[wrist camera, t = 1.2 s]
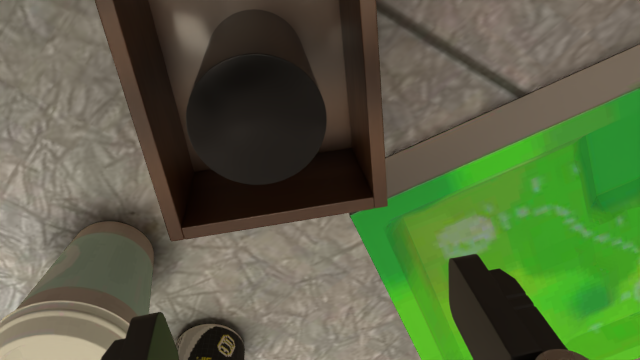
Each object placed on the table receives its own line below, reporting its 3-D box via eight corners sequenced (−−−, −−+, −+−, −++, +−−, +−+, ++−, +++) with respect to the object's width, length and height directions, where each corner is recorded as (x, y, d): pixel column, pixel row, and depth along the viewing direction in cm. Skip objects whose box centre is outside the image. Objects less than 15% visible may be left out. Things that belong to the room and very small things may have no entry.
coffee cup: (90, 182, 34) (17, 300, 24) (195, 243, 38) (172, 369, 27) (30, 264, 37) (-59, 403, 26) (134, 314, 40) (91, 455, 30)
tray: (437, 382, 48) (455, 428, 44) (338, 179, 37) (349, 215, 32) (688, 281, 46) (734, 320, 42) (669, 31, 34) (730, 47, 30)
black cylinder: (196, 16, 29) (169, 65, 20) (297, 2, 30) (318, 43, 20) (218, 111, 32) (203, 194, 23) (309, 98, 33) (333, 174, 23)
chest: (362, 151, 36) (388, 206, 29) (186, 178, 35) (170, 242, 28) (341, -96, 28) (370, -100, 21) (118, -67, 28) (74, -62, 21)
